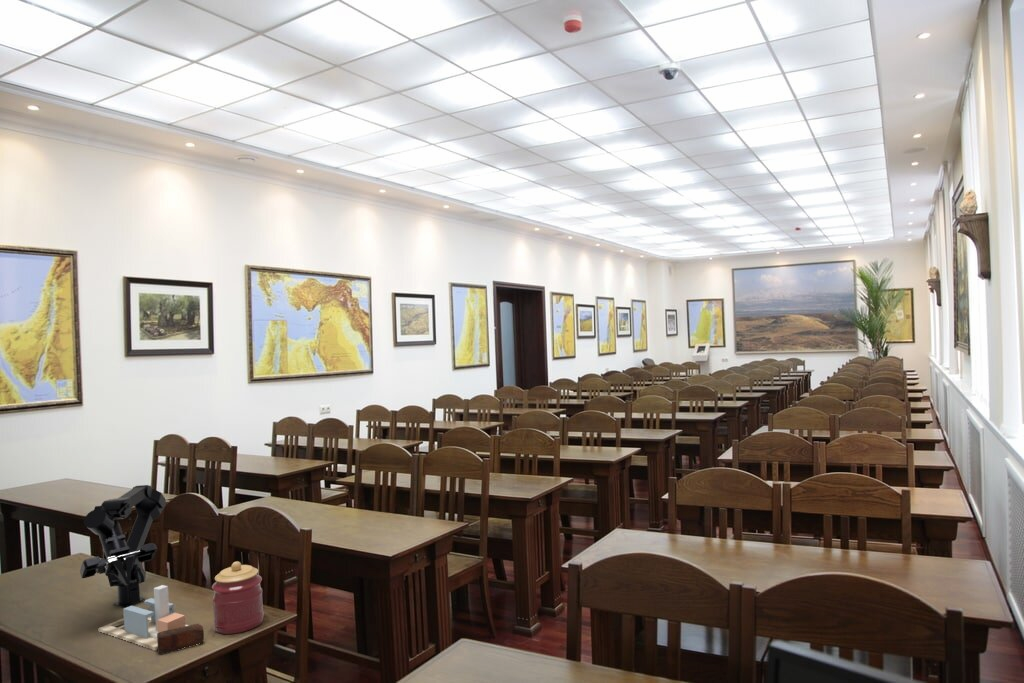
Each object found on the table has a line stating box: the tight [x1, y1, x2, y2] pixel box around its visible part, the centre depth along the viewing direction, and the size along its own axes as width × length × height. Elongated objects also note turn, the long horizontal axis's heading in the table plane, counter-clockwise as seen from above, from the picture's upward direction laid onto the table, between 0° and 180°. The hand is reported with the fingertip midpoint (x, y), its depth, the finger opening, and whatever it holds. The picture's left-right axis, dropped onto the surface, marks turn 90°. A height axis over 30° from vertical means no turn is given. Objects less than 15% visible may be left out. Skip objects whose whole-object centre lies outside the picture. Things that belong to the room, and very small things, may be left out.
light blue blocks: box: [123, 597, 175, 639], centre depth 181 cm, size 10×8×6 cm
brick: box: [157, 623, 205, 655], centre depth 171 cm, size 11×4×5 cm, turn 122°
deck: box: [97, 616, 189, 651], centre depth 181 cm, size 27×12×1 cm, turn 60°
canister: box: [211, 561, 265, 635], centre depth 183 cm, size 13×13×18 cm
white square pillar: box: [149, 584, 187, 639], centre depth 176 cm, size 9×6×12 cm, turn 60°
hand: (128, 584), depth 185 cm, fingers closed
